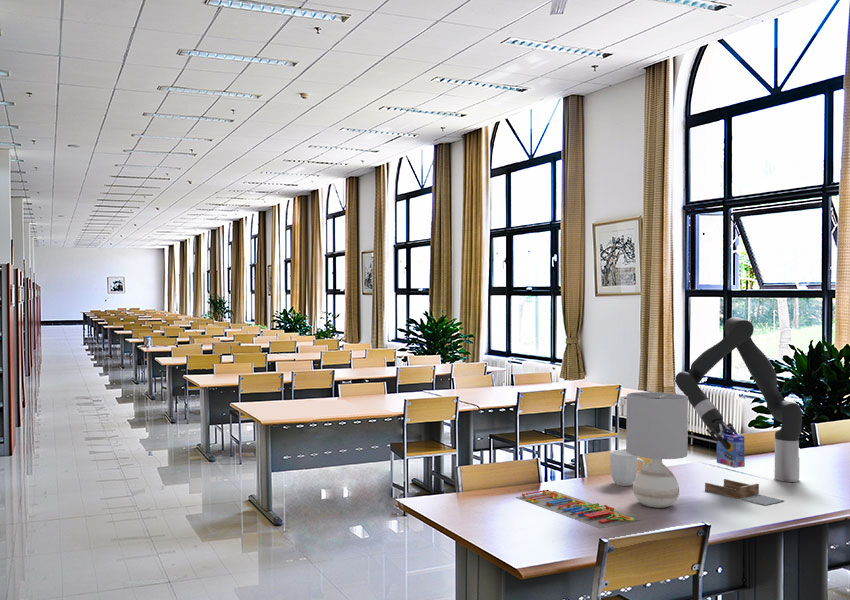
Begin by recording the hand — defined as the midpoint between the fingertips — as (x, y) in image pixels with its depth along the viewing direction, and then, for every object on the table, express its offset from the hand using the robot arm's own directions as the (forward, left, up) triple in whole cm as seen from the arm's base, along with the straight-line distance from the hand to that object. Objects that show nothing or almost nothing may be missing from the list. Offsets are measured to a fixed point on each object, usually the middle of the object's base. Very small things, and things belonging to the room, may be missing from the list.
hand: (734, 447), depth 302 cm
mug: (+26, -32, -18) cm, 45 cm away
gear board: (+70, -16, -19) cm, 74 cm away
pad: (+1, +13, -18) cm, 22 cm away
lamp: (+41, -4, -18) cm, 45 cm away
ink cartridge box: (0, -2, -8) cm, 8 cm away
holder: (0, -2, -18) cm, 18 cm away
